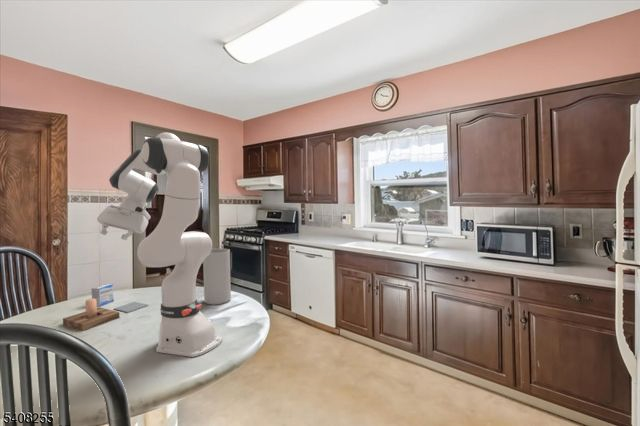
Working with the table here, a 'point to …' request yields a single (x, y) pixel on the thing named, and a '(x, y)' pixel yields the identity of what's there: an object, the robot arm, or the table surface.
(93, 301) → the peg
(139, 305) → the mat
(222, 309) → the table surface
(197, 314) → the robot arm
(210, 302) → the cylinder vase
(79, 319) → the pocket block
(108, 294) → the medicine box
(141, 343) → the table surface
